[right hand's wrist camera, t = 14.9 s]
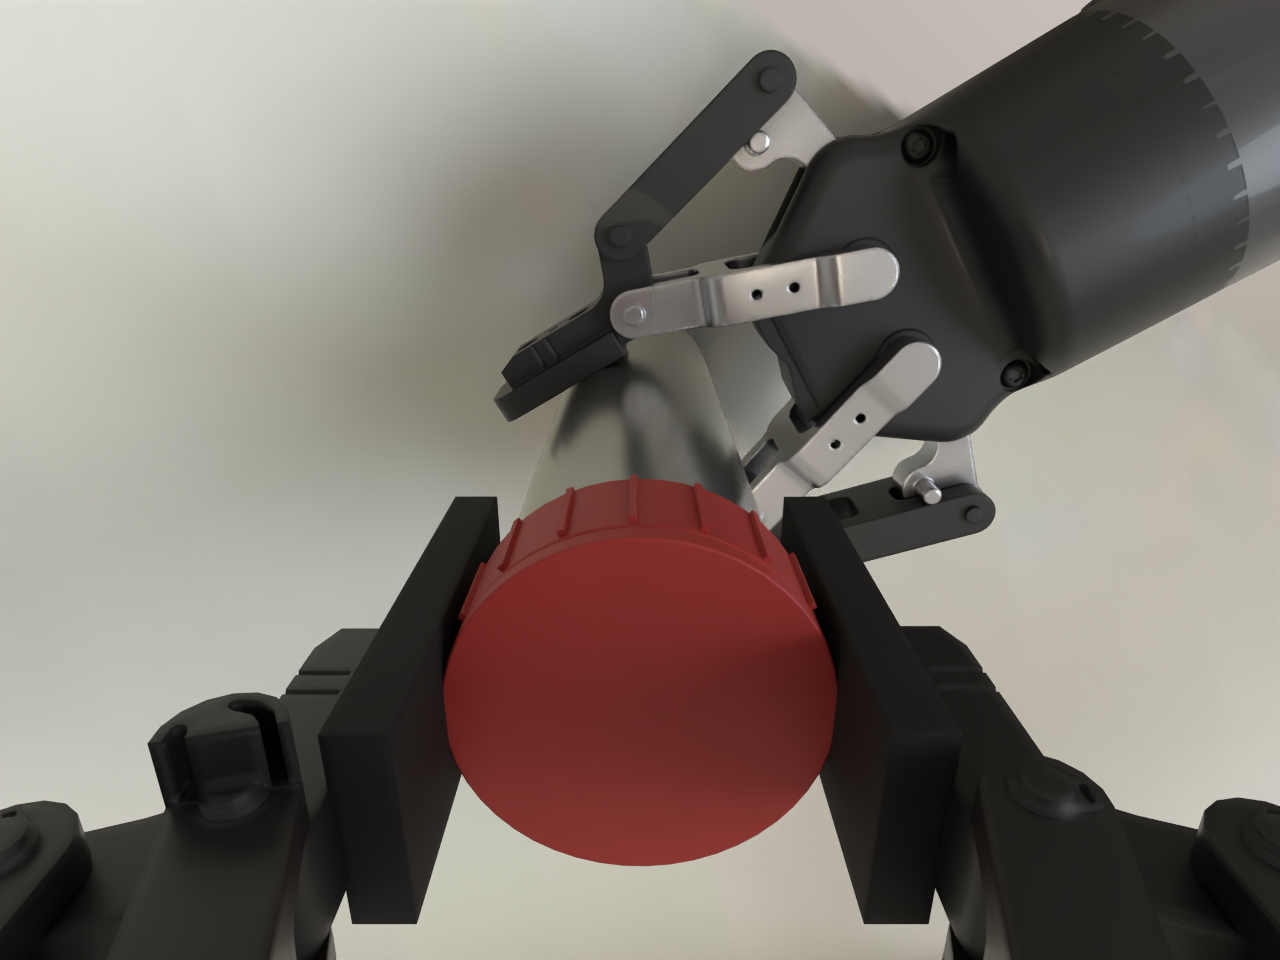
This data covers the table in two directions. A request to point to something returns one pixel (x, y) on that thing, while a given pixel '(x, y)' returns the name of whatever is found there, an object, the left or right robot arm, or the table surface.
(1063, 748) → the table surface
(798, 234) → the left robot arm
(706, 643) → the lid
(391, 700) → the right robot arm
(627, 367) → the jar
